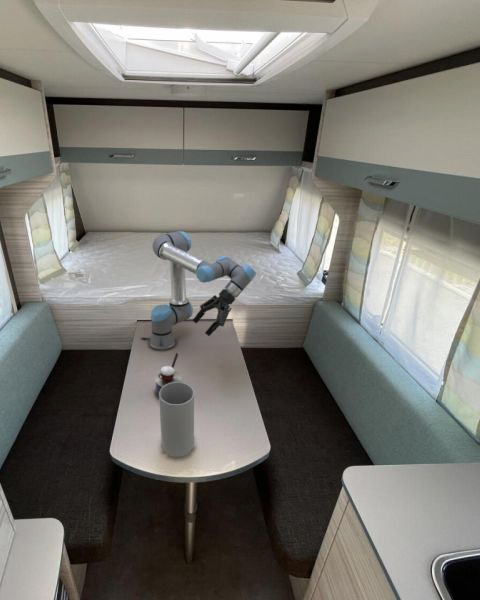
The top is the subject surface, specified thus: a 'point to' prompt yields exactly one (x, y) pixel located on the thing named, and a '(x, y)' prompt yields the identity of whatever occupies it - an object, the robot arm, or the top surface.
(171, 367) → the cocoa
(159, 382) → the beige and blue cylinder
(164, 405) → the cylinder vase
